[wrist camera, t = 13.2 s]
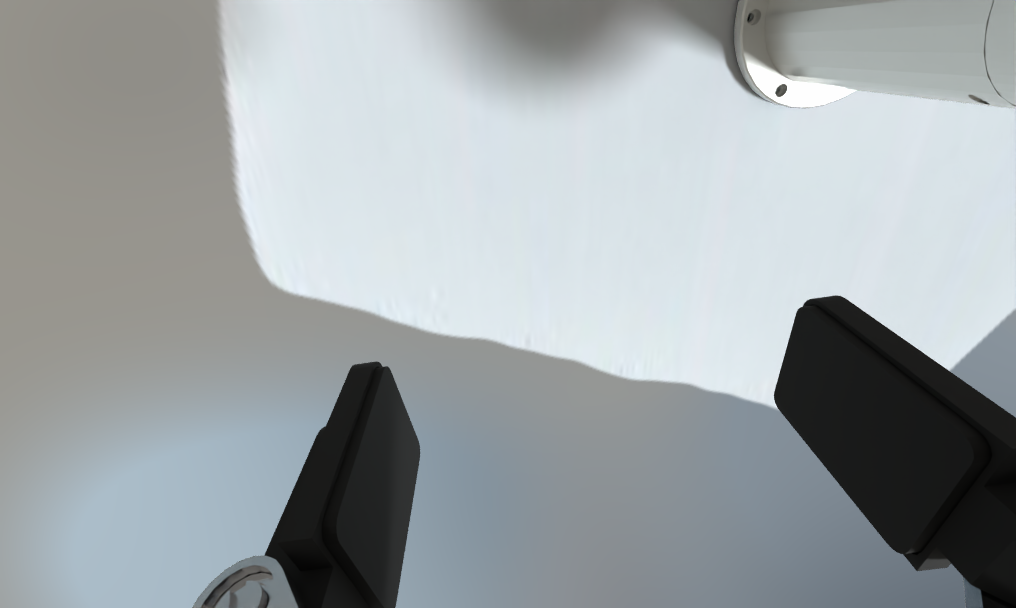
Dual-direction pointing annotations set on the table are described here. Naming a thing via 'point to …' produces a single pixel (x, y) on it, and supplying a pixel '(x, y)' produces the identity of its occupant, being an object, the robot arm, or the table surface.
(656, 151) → the table surface
